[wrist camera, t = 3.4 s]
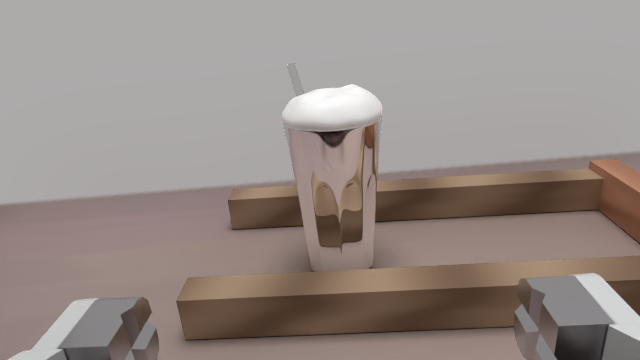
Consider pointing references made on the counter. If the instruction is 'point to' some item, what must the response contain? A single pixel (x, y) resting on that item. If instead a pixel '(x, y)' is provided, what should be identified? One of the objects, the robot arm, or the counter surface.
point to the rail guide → (413, 282)
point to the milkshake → (335, 171)
